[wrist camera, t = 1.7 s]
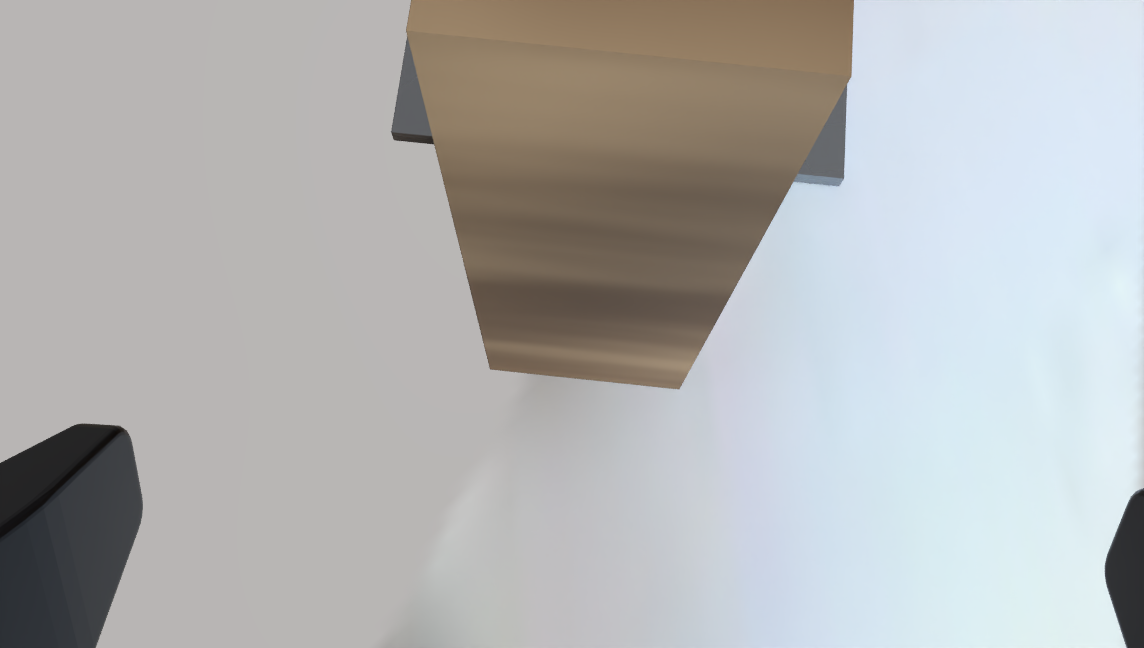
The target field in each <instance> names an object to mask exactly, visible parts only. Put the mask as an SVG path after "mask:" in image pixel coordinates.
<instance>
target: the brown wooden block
mask: <svg viewBox="0 0 1144 648" xmlns="http://www.w3.org/2000/svg"><path fill="white" fill-rule="evenodd" d="M853 10H854V0H411V5H410V11H409V17H408V23H407V29H406V32H407V36H408V40H409V44H410V48H411V52H412V56H413V60H414V64H415V68H416V72H417V77H418V81H419V85H420V89H421V93H422V97H423V101H424V105H425V109H426V113H427V117H428V121H429V125H430V129H431V133H432V137H433V141H434V145H435V149H436V153H437V157H438V161H439V165H440V169H441V173H442V177H443V181H444V185H445V189H446V193H447V197H448V201H449V206H450V209H451V213H452V218H453V222H454V226H455V230H456V234H457V237H458V242H459V246H460V250H461V254H462V258H463V262H464V266H465V270H466V274H467V278H468V282H469V286H470V290H471V294H472V298H473V302H474V306H475V310H476V314H477V318H478V322H479V326H480V330H481V335H482V338H483V343H484V347H485V351H486V354H487V359H488V363H489V367H490V369H492V370H502V371H511V372H520V373H530V374H539V375H549V376H558V377H567V378H577V379H586V380H596V381H605V382H615V383H624V384H634V385H643V386H653V387H662V388H671V389H680V387H681V385H682V383H683V381H684V380H685V378H686V376H687V374H688V372H689V371H690V369H691V367H692V365H693V363H694V361H695V360H696V358H697V356H698V354H699V352H700V351H701V349H702V347H703V345H704V343H705V341H706V340H707V338H708V336H709V334H710V332H711V331H712V329H713V327H714V325H715V323H716V321H717V320H718V318H719V316H720V314H721V312H722V311H723V309H724V307H725V305H726V303H727V301H728V300H729V298H730V296H731V294H732V292H733V291H734V289H735V287H736V285H737V283H738V281H739V280H740V278H741V276H742V274H743V272H744V271H745V269H746V267H747V265H748V263H749V261H750V260H751V258H752V256H753V254H754V252H755V251H756V249H757V247H758V245H759V243H760V241H761V240H762V238H763V236H764V234H765V232H766V230H767V229H768V227H769V225H770V223H771V221H772V220H773V218H774V216H775V214H776V212H777V210H778V209H779V207H780V205H781V203H782V201H783V200H784V198H785V196H786V194H787V192H788V190H789V189H790V187H791V185H792V183H793V181H794V180H795V178H796V176H797V174H798V172H799V170H800V169H801V167H802V165H803V163H804V161H805V160H806V158H807V156H808V154H809V152H810V150H811V149H812V147H813V145H814V143H815V141H816V140H817V138H818V136H819V134H820V132H821V130H822V129H823V127H824V125H825V123H826V121H827V120H828V118H829V116H830V114H831V112H832V110H833V109H834V107H835V105H836V103H837V101H838V100H839V98H840V96H841V94H842V92H843V90H844V89H845V87H846V85H847V83H848V81H849V80H850V78H851V71H852V40H853Z"/></svg>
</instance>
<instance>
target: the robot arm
mask: <svg viewBox="0 0 1144 648" xmlns="http://www.w3.org/2000/svg"><path fill="white" fill-rule="evenodd" d="M142 510H143V502H142V494H141V489H140V483H139V478H138V473H137V467H136V462H135V457H134V451H133V446H132V442H131V438H130V436H129V434H128V432H127V431H126V430H125V429H124V428H122V427H120V426H114V425H99V424H77V425H74V426H72V427H70V428H68V429H66V430H64V431H62V432H60V433H58V434H56V435H54V436H52V437H50V438H48V439H46V440H44V441H43V442H41V443H38V444H37V445H35V446H33V447H31V448H29V449H27V450H25V451H23V452H21V453H19V454H17V455H15V456H13V457H11V458H9V459H7V460H5V461H4V462H1V463H0V648H96V645H97V642H98V640H99V636H100V634H101V631H102V629H103V626H104V623H105V620H106V617H107V615H108V612H109V609H110V606H111V604H112V601H113V598H114V595H115V593H116V590H117V587H118V584H119V582H120V579H121V576H122V573H123V571H124V568H125V565H126V562H127V560H128V557H129V554H130V551H131V549H132V546H133V543H134V540H135V538H136V535H137V532H138V529H139V526H140V523H141V518H142ZM1105 579H1106V584H1107V588H1108V591H1109V594H1110V598H1111V601H1112V604H1113V607H1114V610H1115V613H1116V616H1117V619H1118V622H1119V625H1120V629H1121V632H1122V635H1123V638H1124V641H1125V644H1126V647H1127V648H1144V488H1143V489H1140V490H1138V491H1136V492H1135V493H1134V494H1133V495H1132V496H1131V498H1130V500H1129V502H1128V504H1127V507H1126V509H1125V512H1124V514H1123V517H1122V519H1121V522H1120V524H1119V527H1118V529H1117V532H1116V534H1115V537H1114V539H1113V542H1112V544H1111V547H1110V549H1109V552H1108V554H1107V558H1106V563H1105Z"/></svg>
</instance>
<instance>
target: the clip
mask: <svg viewBox="0 0 1144 648" xmlns="http://www.w3.org/2000/svg"><path fill="white" fill-rule="evenodd" d="M846 98H847V85H846V87H845V89H844V90H843V92H842V94H841V96H840V98H839V100H838V101H837V103H836V105H835V107H834V109H833V110H832V112H831V114H830V116H829V118H828V120H827V121H826V123H825V125H824V127H823V129H822V130H821V132H820V134H819V136H818V138H817V140H816V141H815V143H814V145H813V147H812V149H811V150H810V152H809V154H808V156H807V158H806V160H805V161H804V163H803V165H802V167H801V169H800V170H799V172H798V174H797V176H796V178H795V180H794V181H795V182H804V183H814V184H824V185H833V186H839V185H840V184H841V182H842V181H843V179H844V158H845V128H846ZM391 132H392V136H393V139H394V140H398V141H408V142H418V143H427V144H434V141H433V137H432V133H431V129H430V125H429V121H428V117H427V113H426V109H425V105H424V101H423V97H422V93H421V89H420V85H419V81H418V77H417V72H416V68H415V64H414V60H413V56H412V52H411V48H410V44H409V40H408V36H407V41H406V47H405V53H404V59H403V65H402V71H401V77H400V84H399V89H398V95H397V102H396V107H395V113H394V119H393V125H392V131H391Z"/></svg>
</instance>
